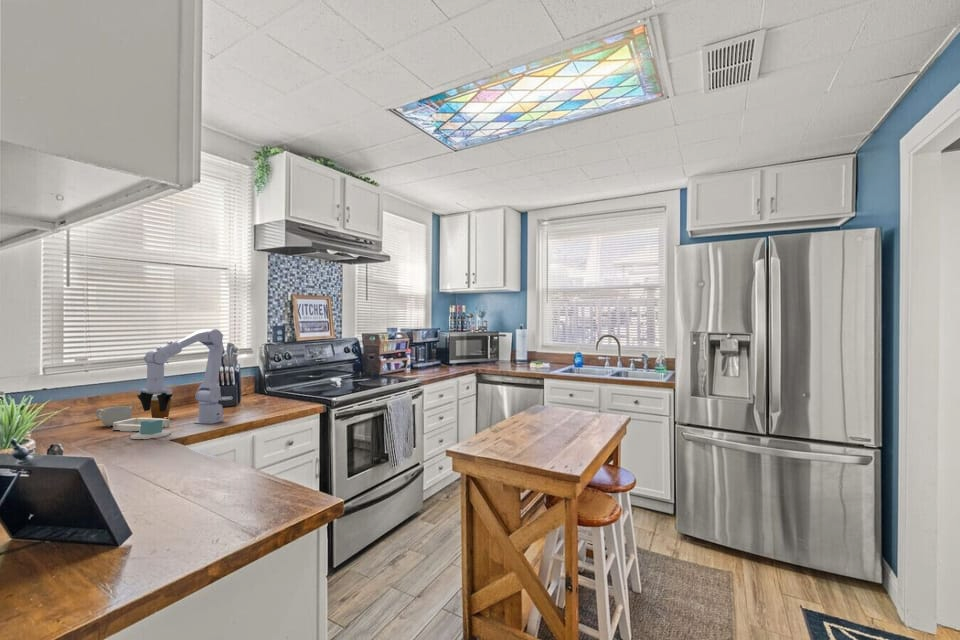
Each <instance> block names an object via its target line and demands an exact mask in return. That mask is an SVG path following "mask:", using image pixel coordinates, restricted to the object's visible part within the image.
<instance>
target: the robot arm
mask: <svg viewBox="0 0 960 640" xmlns="http://www.w3.org/2000/svg"><path fill="white" fill-rule="evenodd" d="M223 339H224V334H223V333H222V332H221V331H220V330H219V329H216V328H213V329H211V328H210V329H206V328H204V329H203V328H201V329H199V330H196V331H194V332H193V333H191V334H189V335H187V336H186V337H184V338H182V339H180V340H178V341H175V340H173V341H167V342H166V343H165V344H164V345H162V346H157V347H156V349H151V350H149V351H147V352H146V353H145V355H144V356H143V360H144V362H145V363H146V388H143V387H142V388H138V389H137V390H138V391H137V393H138V395H136V397H137V398H138V400H139V401H140V403H141V405H142V409H143V412H149V411H151V407H150V406H151V399H152V396H153V394H161V395H157V398H158V401H159V410H160V412H162V411H165V410H166V407H167V404H168V402H169V400H170V398H171V397H172V396H173V388H165V387H164V386H165V385H164V384H165V363H167V362H168V359H170V358H172V357H174V356H177V355H179V354H180V353H182V350H183V348H186V347H189V346H190V345H193V344H195V343H197V342H199V343H201V344H203V345H204V346H206V347H207V348H208V350H209V351H208V356H207V357H208V358H207V362H206V368H205V372H204V377H203V382H201V384H200V385H199V386H198V388H197V391H196V392H195V395H194V396H195V400H196V401H197V403H198V420H197V421H194V422H193V424H202V425H203V424H205V425H210V424H211V425H212V424H217V423H220V422H224V419H223V418H224V417H223V414H224V413H223V412H224V408H223V405H222V404H220V403H219V401H220V399H221V396H222V394H221V386H220V385H219V384H218V379H219V375H220V369H221V362H222V356H223V351H224V343H223ZM172 398H173V397H172Z"/></svg>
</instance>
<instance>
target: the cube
mask: <svg viewBox="0 0 960 640" xmlns="http://www.w3.org/2000/svg"><path fill="white" fill-rule="evenodd" d="M162 430H163V427H162V420H158V419H151V420H146V421H142V422H141V426H140V434H155V433H159V432H162Z"/></svg>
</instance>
